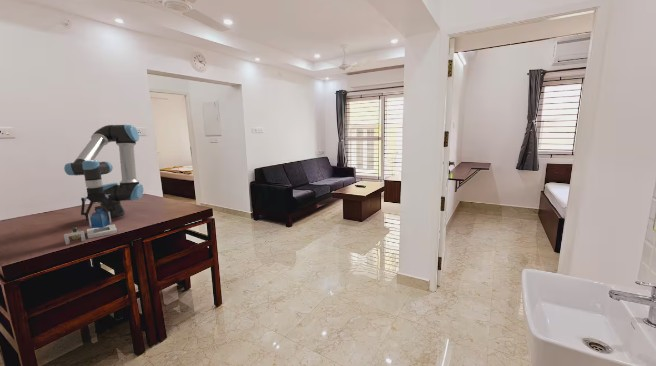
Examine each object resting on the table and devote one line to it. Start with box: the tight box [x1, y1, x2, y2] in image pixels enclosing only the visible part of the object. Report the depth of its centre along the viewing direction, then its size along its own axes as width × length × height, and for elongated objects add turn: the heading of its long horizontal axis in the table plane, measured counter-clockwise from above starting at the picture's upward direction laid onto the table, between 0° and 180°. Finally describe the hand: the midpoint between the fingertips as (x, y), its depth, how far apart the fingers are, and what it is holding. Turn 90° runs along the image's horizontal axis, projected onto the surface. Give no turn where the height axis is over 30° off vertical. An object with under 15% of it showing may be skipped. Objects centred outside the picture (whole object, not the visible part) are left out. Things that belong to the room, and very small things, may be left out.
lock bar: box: [71, 226, 80, 241], centre depth 162 cm, size 8×3×5 cm, turn 41°
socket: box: [86, 223, 118, 239], centre depth 169 cm, size 14×14×2 cm
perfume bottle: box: [90, 205, 111, 228], centre depth 168 cm, size 6×6×12 cm
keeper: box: [63, 230, 86, 246], centre depth 155 cm, size 2×8×5 cm, turn 131°
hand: (100, 223), depth 168 cm, fingers closed on perfume bottle, 9 cm apart
